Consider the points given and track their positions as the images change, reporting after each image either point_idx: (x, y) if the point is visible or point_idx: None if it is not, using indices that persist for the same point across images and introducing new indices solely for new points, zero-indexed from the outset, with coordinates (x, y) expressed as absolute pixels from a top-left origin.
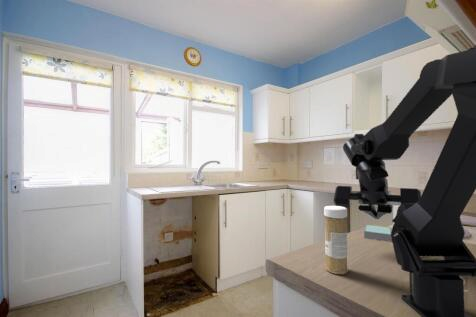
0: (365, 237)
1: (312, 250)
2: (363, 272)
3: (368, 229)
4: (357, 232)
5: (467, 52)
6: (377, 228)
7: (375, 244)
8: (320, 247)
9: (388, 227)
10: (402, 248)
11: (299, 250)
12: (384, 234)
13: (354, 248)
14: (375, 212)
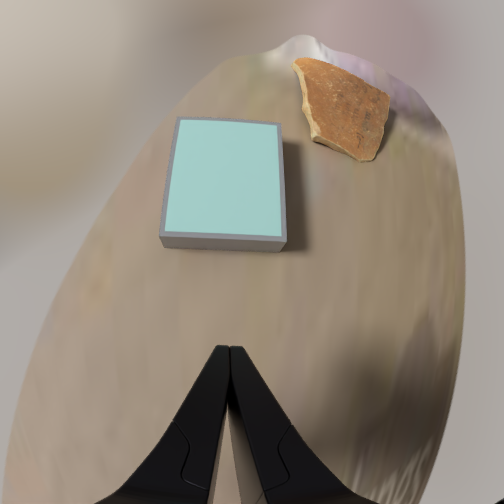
0: (169, 246)
1: (29, 485)
2: None
3: (181, 194)
4: (140, 172)
5: None
6: (224, 157)
7: (212, 327)
8: (34, 453)
9: (270, 123)
10: None
11: (6, 490)
12: (254, 240)
13: (134, 426)
14: (223, 427)
